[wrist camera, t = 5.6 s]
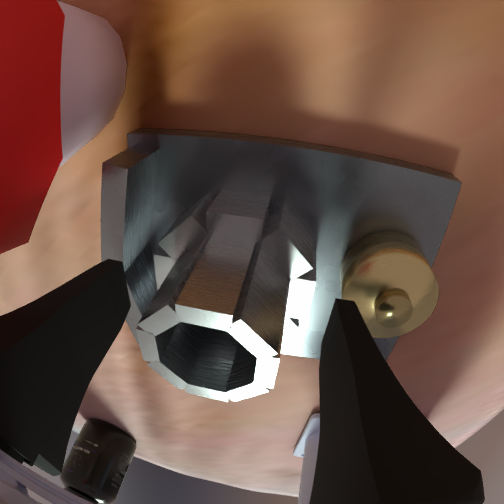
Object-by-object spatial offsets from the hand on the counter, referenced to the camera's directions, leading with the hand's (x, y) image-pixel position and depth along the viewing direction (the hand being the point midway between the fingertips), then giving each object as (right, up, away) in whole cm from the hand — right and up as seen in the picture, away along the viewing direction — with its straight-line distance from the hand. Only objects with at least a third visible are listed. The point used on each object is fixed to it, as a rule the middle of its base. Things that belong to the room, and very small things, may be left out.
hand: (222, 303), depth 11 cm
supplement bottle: (-16, -20, +21) cm, 33 cm away
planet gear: (+1, +1, +3) cm, 3 cm away
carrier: (+2, +2, +4) cm, 5 cm away
